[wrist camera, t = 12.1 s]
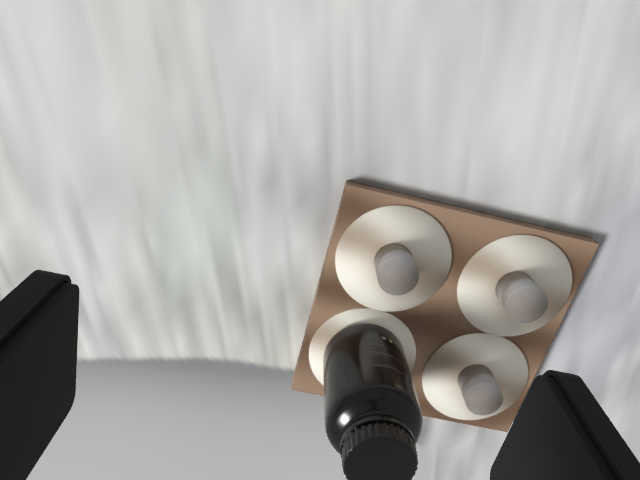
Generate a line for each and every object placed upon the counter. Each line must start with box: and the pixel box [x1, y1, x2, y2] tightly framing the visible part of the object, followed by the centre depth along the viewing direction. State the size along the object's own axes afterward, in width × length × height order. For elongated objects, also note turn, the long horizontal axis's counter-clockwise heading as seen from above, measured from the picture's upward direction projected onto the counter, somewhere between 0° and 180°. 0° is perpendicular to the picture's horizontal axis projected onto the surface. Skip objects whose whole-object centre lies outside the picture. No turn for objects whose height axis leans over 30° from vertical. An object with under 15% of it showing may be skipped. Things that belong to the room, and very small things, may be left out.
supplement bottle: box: [323, 323, 423, 480], centre depth 38 cm, size 7×7×12 cm
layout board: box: [292, 181, 599, 432], centre depth 42 cm, size 19×20×4 cm
